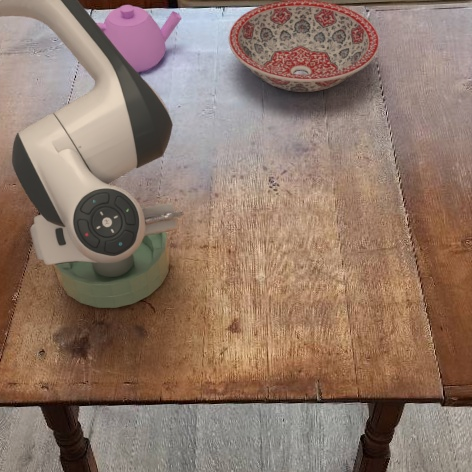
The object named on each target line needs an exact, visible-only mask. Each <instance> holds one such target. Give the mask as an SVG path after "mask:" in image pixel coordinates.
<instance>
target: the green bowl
mask: <svg viewBox="0 0 472 472" xmlns="http://www.w3.org/2000/svg"><path fill="white" fill-rule="evenodd" d="M140 207H141V208H143V207H144V206H141V205H140ZM133 257H134V263H133V266H132V267H131V269H130V270H129V271H128V272H126V273H125V274H123V275H121V276H117V277H105V276H102V275H100V274H98V273H97V272H96V271H95V270H94V268H93V265H92V262H84V261H79V262H71V263H63V264H57V265H55V264H53V267H54V270H55V274H56V277H57V280H58V283H59V285H60V286H61V288H62V289H63V290H64V292H65V293H66V294H67V296H69V297H70V298H72V299H74V300H75V301H77V302H78V303H80V304H83V305H86V306H90V307H93V308H97V309H116V308H121V307H125V306H130V305H134V304H136V303H137V302H139V301H141V300H143V299H146V298H148V297H149V296H151V295H152V294H153V293H154V292H155V291H156V290H157V289H159V287H161V286H162V285H163V283H164V282H165V280H166V277H167V275H168V274H169V270H170V261H171V258H170V251H169V241H168V234H167V232H163V233H158V234H153V235H148V236H144V238H143V240H142V242H141V244H140V246H139V247H138V248H137V250H136V251H135V252H134V253H133Z"/></svg>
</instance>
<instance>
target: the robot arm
mask: <svg viewBox="0 0 472 472" xmlns="http://www.w3.org/2000/svg"><path fill="white" fill-rule="evenodd" d="M2 17H4V18H5V17H23V18H30V19H33V20H35V21H38V22H41V23H42V24H44V25H46V27H48V28H49V29H51V31H52V32H53V33H54V34H55V35H56V36H57V38H59V40H60V42H62V44H64V46H65V47H66V49H68V51H69V52H70V53H71V54H72V55H73V57H74V58H75V59H76V60H77V61H78V63H79V64H80V65H81V66H82V68H83V69H84V70H85V71H86V72H87V74H88V75H89V76H90V77H91V78H92V80H93V81H94V86H93V88H92V89H91V90H90V91H88V92H87V93H85V94H84V95H83V94H82V95H81V96H80V97H78V98H76V99H74V100H73V101H71V102H70V103H68V104H66V105H64V106H62V107H60V108H59V109H57V110H55V111H54V112H50V113H48V114H47V115H46V116H44V117H43V118H40V119H39V120H36V121H35V122H33V123H32V124H30V125H28V126H27V127H25V128H23V129H22V130H21V131H18V132H17V133H16V135H15V137H14V141H13V145H12V152H11V153H12V154H11V164H12V167H13V170H14V173H15V175H16V177H17V179H18V182H19V183H20V186H21V188H22V189H23V190H24V193H25V194H26V196H27V197H28V200H29V201H30V202H31V203H32V204H33V206H34V207H35V209H36V210H37V211H38V213H39V214H38V215H35V216H34V217H33V221H34V223H33V224H32V225H31V226H30V229H29V232H30V236H31V241H32V245H33V248H34V253H35V256H36V258H37V260H39V261H43V262H44V264H45V265H46V266H52V265H53V266H54V264H55V265H57V264H63V263H71V262H79V261H84V262H92V263H97V262H100V263H115V262H119V261H122V260H124V259H126V258H128V257H129V256H131V255H132V254H133V253H134V252H135V251H136V250H137V248H138V247H139V246H140V244H141V242H142V240H143V238H144V236H148V235H153V234H158V233H163V232H166V233H167V232H168V233H169V232H173V231H176V230H178V229H179V228H180V222H179V219H180V218H184V216H185V213H184V210H178V211H177V208H176V205H175V203H172V202H167V203H159V204H153V205H148V206H141V205H140V203H139V202H138V201H137V199H136V198H135V197H134V196H133V194H131V193H130V192H128V191H127V190H125V189H123V188H121V187H119V186H117V185H113V184H111V183H113V182H114V181H115V180H118V179H119V178H121V177H123V176H125V175H126V174H128V173H129V172H131V171H132V170H135V169H139V168H141V167H144V166H146V165H147V164H150V163H152V162H154V161H155V160H158V159H160V158H162V157H163V156H164V154H165V152H166V150H167V148H168V145H169V143H170V140H171V137H172V131H173V120H172V118H171V116H170V113H169V110H168V108H167V106H166V104H165V102H164V100H163V99H162V98H161V96H160V95H159V93H158V92H157V91H156V90H155V88H153V87H152V86H151V84H149V83H148V82H147V81H146V80H145V79H144V78H143V77H142V76H141V75H140V74H139V72H138V73H137V72H136V71H135V69H134V68H133V67H132V66H131V65H130V64H129V63H128V62H127V60H126V59H125V58H124V57H123V56H122V55H121V53H120V52H119V51H118V50H117V48H116V47H115V46H114V45H113V43H112V42H111V41H110V40H109V39H108V37H107V36H106V35H105V34H104V32H103V31H102V30H101V29H100V27H99V26H98V25H97V24H96V23H97V22H96V21H95V20H94V18H93V17H92V16H91V14H90V13H89V12H88V11H87V9H86V8H85V7H84V6H83V5H82V4H81V2H80V1H79V0H0V18H2ZM140 206H141V207H143V208H141V207H140Z"/></svg>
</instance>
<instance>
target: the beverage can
mask: <svg viewBox="0 0 472 472" xmlns="http://www.w3.org/2000/svg"><path fill="white" fill-rule="evenodd" d="M133 263H134V257H133V254H132V255H131V256H129V257H128V258H126V259H124V260H122V261H119V262H115V263H100V262H97V263H92V265H93V268H94V270H95V271H96V272H97V273H98V274H100V275H102V276H105V277H117V276H121V275H123V274H125V273H126V272H128V271H129V270H130V269H131V267H132V266H133Z"/></svg>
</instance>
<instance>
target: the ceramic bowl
mask: <svg viewBox="0 0 472 472" xmlns="http://www.w3.org/2000/svg"><path fill="white" fill-rule="evenodd" d="M228 45H229V48H230V50H231V52H232V54H233V56H234V57H235V58H236V59H237V60H238V61H239V62H240V63H241V64H242V65H244V66H246V67H247V68H248V69H249V70H250V71H251V72H252V74H254V75H255V76H256V77H258V78H259V79H260V80H261V81H263V82H265V83H267V84H268V85H270V86H273V87H275V88H278V89H281V90H284V91H288V92H294V93H295V92H297V93H311V92H319V91H325V90H327V89H330V88H333V87H335V86H338V85H339V84H342V83H343V82H345V81H347V80H348V79H349V78H350V77H352V76H353V75H355V74H356V73H357V72H359V71H361V70H363V69H365V68H366V67H367V66H368V65H369V64H371V62H373V60H374V59H375V58H376V56H377V54H378V52H379V49H380V37H379V34H378V32H377V30H376V28H375V27H374V25H373V24H372V23H371V22H370V21H369V20H368V19H367V18H365V17H364V16H363V15H361V14H360V13H357V12H356V11H354V10H352V9H350V8H347V7H345V6H342V5H339V4H335V3H331V2H327V1H319V0H281V1H275V2H274V1H273V2H270V3H266V4H264V5H260V6H257V7H255V8H252V9H250V10H248V11H247V12H245V13H244V14H243V15H241V16H240V17H239V18H237V19H236V21H235V22H234V23H233V25H232V26H231V28H230V30H229V34H228ZM298 71H304V72H307V74H299V73H297V74H296V73H295V72H298Z"/></svg>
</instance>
